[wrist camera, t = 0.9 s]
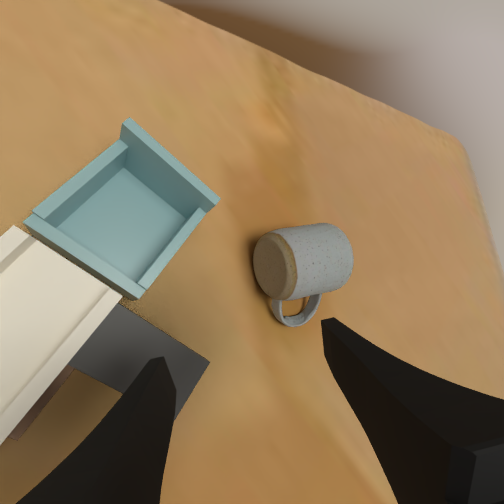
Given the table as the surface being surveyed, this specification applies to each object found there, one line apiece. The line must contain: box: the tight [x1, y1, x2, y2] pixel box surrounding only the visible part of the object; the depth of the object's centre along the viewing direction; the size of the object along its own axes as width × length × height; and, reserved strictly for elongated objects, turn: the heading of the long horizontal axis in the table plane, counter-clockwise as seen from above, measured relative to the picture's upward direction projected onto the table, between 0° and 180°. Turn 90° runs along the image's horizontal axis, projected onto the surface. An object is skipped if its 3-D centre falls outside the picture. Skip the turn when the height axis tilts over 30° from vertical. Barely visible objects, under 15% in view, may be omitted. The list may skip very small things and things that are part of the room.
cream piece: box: [0, 225, 210, 445], centre depth 13 cm, size 14×14×4 cm
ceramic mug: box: [253, 223, 353, 327], centre depth 28 cm, size 11×8×8 cm
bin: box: [23, 117, 221, 301], centre depth 21 cm, size 10×9×6 cm
